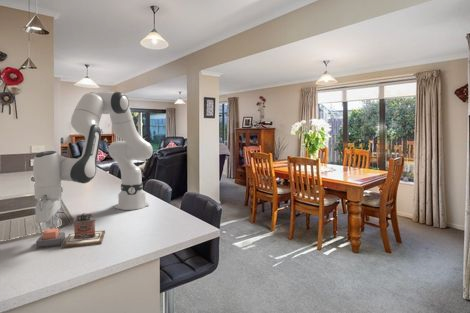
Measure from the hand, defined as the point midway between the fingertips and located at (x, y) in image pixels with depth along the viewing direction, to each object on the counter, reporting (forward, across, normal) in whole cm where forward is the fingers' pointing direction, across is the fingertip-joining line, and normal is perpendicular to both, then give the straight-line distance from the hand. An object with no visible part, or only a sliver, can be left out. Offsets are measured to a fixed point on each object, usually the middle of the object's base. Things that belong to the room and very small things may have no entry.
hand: (50, 226), depth 112 cm
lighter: (+6, 0, -12) cm, 14 cm away
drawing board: (+7, 0, -12) cm, 14 cm away
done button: (+5, 0, 0) cm, 5 cm away
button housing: (+7, 0, 0) cm, 7 cm away
